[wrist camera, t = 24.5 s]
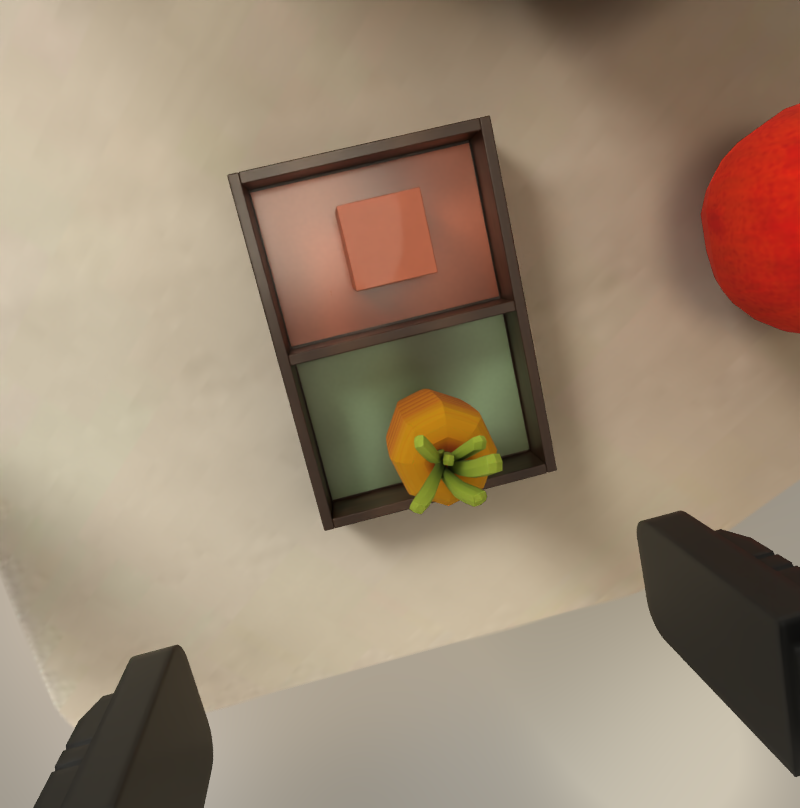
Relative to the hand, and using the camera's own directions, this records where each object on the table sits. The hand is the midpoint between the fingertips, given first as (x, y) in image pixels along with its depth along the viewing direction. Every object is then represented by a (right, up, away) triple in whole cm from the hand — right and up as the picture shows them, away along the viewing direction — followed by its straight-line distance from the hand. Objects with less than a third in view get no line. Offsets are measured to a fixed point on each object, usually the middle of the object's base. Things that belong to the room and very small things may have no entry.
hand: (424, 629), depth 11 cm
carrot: (0, +4, +29) cm, 30 cm away
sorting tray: (-1, +8, +29) cm, 30 cm away
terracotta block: (-1, +13, +27) cm, 30 cm away
